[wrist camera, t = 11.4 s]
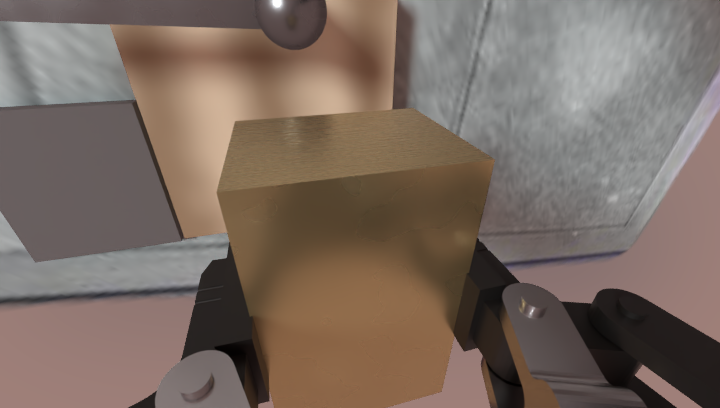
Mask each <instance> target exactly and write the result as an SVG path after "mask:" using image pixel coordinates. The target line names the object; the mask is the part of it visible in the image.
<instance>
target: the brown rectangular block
mask: <svg viewBox="0 0 720 408" xmlns="http://www.w3.org/2000/svg"><path fill="white" fill-rule="evenodd" d="M494 162H495V159H493V158H492V157H490V156H489V155H487V154H485V153H484V152H482V151H481V150H479V149H477V148H476V147H474V146H473V145H471V144H469V143H468V142H466V141H465V140H463V139H462V138H460V137H458V136H457V135H455V134H454V133H452V132H450V131H449V130H447V129H446V128H444V127H442V126H441V125H439V124H438V123H436V122H435V121H433V120H431V119H430V118H428V117H427V116H425V115H423V114H422V113H420V112H419V111H417V110H415V109H414V108H407V109H393V110H379V111H366V112H352V113H339V114H325V115H311V116H298V117H284V118H271V119H257V120H243V121H235V123H234V127H233V131H232V135H231V138H230V142H229V146H228V150H227V154H226V158H225V161H224V165H223V169H222V173H221V177H220V181H219V184H218V188H217V192H216V193H217V196H218V200H219V204H220V208H221V211H222V215H223V219H224V222H225V226H226V230H227V234H228V237H229V241H230V245H231V248H232V252H233V256H234V260H235V263H236V267H237V271H238V275H239V278H240V282H241V286H242V289H243V293H244V297H245V301H246V304H247V308H248V312H249V315H250V317H251V316H253V319H254V323H255V326H256V330H257V334H258V338H259V342H260V346H261V349H262V353H263V357H264V361H265V365H266V368H267V372H268V376H269V390H270V393H271V397H272V401H273V404H274V408H386V407H390V406H394V405H397V404H401V403H404V402H407V401H411V400H415V399H418V398H422V397H425V396H428V395H432V394H436V393H439V392H442V388H443V383H444V379H445V375H446V370H447V366H448V361H449V357H450V353H451V349H452V344H453V340H454V334H453V331H454V327H455V323H456V318H457V314H458V309H459V305H460V300H461V296H462V291H463V287H464V282H465V278H466V274H467V273H469V270H470V266H471V262H472V257H473V253H474V249H475V244H476V240H477V235H478V231H479V227H480V222H481V218H482V214H483V209H484V205H485V201H486V196H487V192H488V188H489V183H490V179H491V175H492V170H493V166H494Z"/></svg>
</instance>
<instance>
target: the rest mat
mask: <svg viewBox="0 0 720 408" xmlns="http://www.w3.org/2000/svg"><path fill="white" fill-rule="evenodd" d="M0 211H1V213H2V214H3V215H4V217H5V218H6V220H7V221H8V223H9V224H10V226H11V227H12V229H13V230H14V232H15V233H16V235H17V236H18V237H19V239H20V240H21V242H22V243H23V245H24V246H25V248H26V249H27V251H28V252H29V254H30V255H31V257H32V258H33V260H34V261H35V262H41V261H48V260H55V259H61V258H68V257H75V256H82V255H89V254H95V253H102V252H109V251H116V250H123V249H129V248H136V247H143V246H150V245H157V244H164V243H170V242H177V241H182V238H183V232H182V229H181V226H180V223H179V221H178V218H177V215H176V212H175V209H174V206H173V204H172V201H171V198H170V195H169V192H168V189H167V186H166V184H165V181H164V178H163V175H162V172H161V169H160V166H159V164H158V161H157V158H156V155H155V152H154V149H153V146H152V144H151V141H150V138H149V135H148V132H147V129H146V127H145V124H144V121H143V118H142V115H141V112H140V109H139V107H138V104H137V101H136V100H126V101H107V102H89V103H71V104H52V105H34V106H16V107H0Z"/></svg>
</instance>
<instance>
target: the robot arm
mask: <svg viewBox="0 0 720 408" xmlns="http://www.w3.org/2000/svg"><path fill="white" fill-rule="evenodd" d="M453 334H454V336H455V337H456V339H457V341H458V342H459V344H460V346H461V347H462V349H463V350H464V351H468V350H472V349H475V348H478V349H479V350H480V352H481V353H482V355H483V357H482V360H481V369H482V374H483V378H484V382H485V386H486V390H487V394H488V399H489V403H490V407H491V408H676V407H675V406H673V405H672V404H671V403H670V402H669V401H667V400H666V399H665V398H663V397H662V396H661V395H659V394H658V393H657V392H655V391H654V390H653V389H651V388H650V387H649V386H648V385H646V384H645V383H644V382H642V381H641V380H640V379H638V378H637V377H636V376H635V374H636V373H637V372H638V370H639V369H640V368H641V366H642V365H645V366H646V367H648V368H649V369H650V370H651V371H653V372H654V373H656V374H657V375H658V376H660V377H661V378H662V379H664V380H665V381H667V382H668V383H669V384H671V385H672V386H673V387H675V388H676V389H678V390H679V391H680V392H682V393H683V394H684V395H686V396H687V397H689V398H690V399H691V400H693V401H694V402H695V403H697V404H698V405H700V406H701V407H702V408H720V343H719V342H717V341H716V340H714V339H712V338H711V337H709V336H707V335H705V334H704V333H702V332H700V331H699V330H697V329H695V328H694V327H692V326H690V325H688V324H687V323H685V322H683V321H682V320H680V319H678V318H677V317H675V316H673V315H671V314H670V313H668V312H666V311H665V310H663V309H661V308H660V307H658V306H656V305H655V304H653V303H651V302H649V301H648V300H646V299H644V298H642V297H640V296H638V295H636V294H633V293H631V292H628V291H624V290H620V289H603V290H601V291H599V292H598V293H597V295H596V297H595V299H594V301H593V302H592V304H590V303H589V304H588V303H574V302H561V301H559V300H558V298H557V297H555V296H554V295H553V294H552V293H550V292H548V291H547V290H545V289H543V288H541V287H539V286H536V285H532V284H528V283H520V282H519V281H518V280H517V279H516V278H515V277H514V276H513V275H512V274H511V273H510V272H509V271H508V269H507V268H506V267H505V266H504V265H503V264H502V263H501V262H500V261H499V260H498V259H497V258H496V257H495V256H494V255H493V254H492V253H491V252H490V251H488V250H487V247H486V246H485V245H484V244H483V243H482V242H479V239H478V238H477V240H476V244H475V249H474V253H473V257H472V262H471V266H470V270H469V273H467V274H466V278H465V282H464V287H463V291H462V296H461V300H460V305H459V309H458V314H457V318H456V323H455V327H454V331H453ZM267 401H269V376H268V372H267V368H266V365H265V361H264V357H263V353H262V349H261V346H260V342H259V338H258V334H257V330H256V326H255V323H254V319H253V316H251V317H250V315H249V312H248V308H247V304H246V301H245V297H244V293H243V289H242V286H241V282H240V278H239V275H238V271H237V267H236V263H235V260H234V256H233V252H232V248H231V245H230V242H229V248H228V255H227V258H225V259H219V260H212V262H211V263H210V264H209V266H208V267H207V268H206V269H205V271H204V272H203V273H202V274H201V279H200V283H199V287H198V292H197V296H196V300H195V305H194V309H193V312H192V317H191V321H190V325H189V330H188V334H187V338H186V342H185V346H184V351H183V355H182V358H181V361H180V362H179V363H177V364H176V365H175V366H174V367H173V368H171V370H170V371H169V372H168V373H167V374H166V375H165V377H164V378H163V380H162V381H161V383H160V385H159V387H158V390H157V391H156V392H155V393H153V394H152V395H150V396H149V397H147V398H145V399H144V400H142V401H140V402H138V403H136V404H134V405H132V406H130V407H129V408H258V404H260V403H264V402H267Z"/></svg>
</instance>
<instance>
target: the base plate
mask: <svg viewBox="0 0 720 408" xmlns="http://www.w3.org/2000/svg"><path fill="white" fill-rule="evenodd" d="M325 1H326V6H327V20H326V24H325V28H324V30H323V32H322V34H321V36H320V37H319V38H318V40H317V41H316V42H315V43H313V44H312V45H311V46H309V47H307V48H304V49H300V50H289V49H285V48H282V47H280V46H278V45H276V44H275V43H273V42H272V41H271V40H270V39H269V38H268V37H267V36H266V35H265V34H264V32H263V31H262V29H237V28H206V27H174V26H143V25H112V24H110V27H111V30H112V32H113V35H114V38H115V41H116V44H117V47H118V50H119V52H120V55H121V58H122V61H123V64H124V67H125V70H126V72H127V75H128V78H129V81H130V84H131V87H132V89H133V92H134V95H135V98H136V101H137V104H138V107H139V109H140V112H141V115H142V118H143V121H144V124H145V127H146V129H147V132H148V135H149V138H150V141H151V144H152V146H153V149H154V152H155V155H156V158H157V161H158V164H159V166H160V169H161V172H162V175H163V178H164V181H165V184H166V186H167V189H168V192H169V195H170V198H171V201H172V204H173V206H174V209H175V212H176V215H177V218H178V221H179V223H180V226H181V229H182V232H183V235H184V238H191V237H198V236H205V235H212V234H218V233H225V232H227V230H226V226H225V222H224V219H223V215H222V211H221V208H220V204H219V200H218V196H217V193H216V192H217V188H218V184H219V181H220V177H221V173H222V169H223V165H224V161H225V158H226V154H227V150H228V146H229V142H230V138H231V135H232V131H233V127H234V123H235V121H243V120H257V119H271V118H284V117H298V116H311V115H325V114H339V113H352V112H366V111H379V110H392V104H393V83H394V63H395V43H396V22H397V2H398V0H325Z"/></svg>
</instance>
